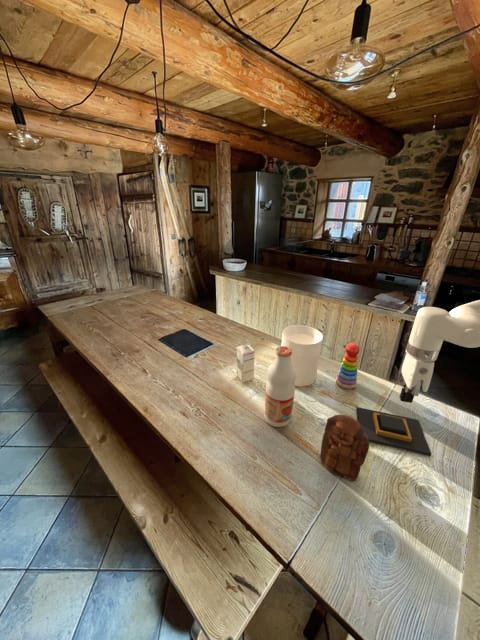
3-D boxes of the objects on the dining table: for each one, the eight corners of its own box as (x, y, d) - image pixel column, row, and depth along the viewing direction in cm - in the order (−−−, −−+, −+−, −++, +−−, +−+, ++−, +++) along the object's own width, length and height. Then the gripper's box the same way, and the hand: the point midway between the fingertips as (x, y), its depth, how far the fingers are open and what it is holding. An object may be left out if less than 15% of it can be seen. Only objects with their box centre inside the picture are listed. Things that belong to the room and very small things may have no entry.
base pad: (417, 421, 92) (419, 416, 91) (430, 456, 80) (433, 450, 79) (356, 408, 98) (357, 403, 97) (359, 439, 86) (361, 433, 84)
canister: (292, 390, 106) (298, 348, 97) (271, 368, 119) (274, 329, 110) (324, 380, 112) (331, 339, 103) (300, 360, 125) (306, 322, 116)
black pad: (400, 424, 90) (402, 418, 89) (404, 437, 85) (406, 431, 84) (377, 419, 92) (379, 413, 91) (380, 431, 87) (382, 426, 86)
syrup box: (254, 379, 112) (255, 350, 106) (242, 383, 110) (242, 353, 104) (248, 371, 117) (249, 343, 110) (236, 375, 114) (236, 346, 108)
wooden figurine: (314, 464, 78) (323, 418, 70) (321, 448, 82) (330, 404, 75) (356, 486, 72) (372, 440, 64) (361, 468, 77) (376, 422, 69)
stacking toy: (357, 381, 112) (367, 343, 103) (353, 392, 106) (363, 352, 97) (338, 375, 115) (346, 337, 107) (333, 385, 109) (341, 346, 101)
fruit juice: (267, 404, 99) (272, 339, 87) (292, 411, 96) (301, 345, 84) (260, 423, 91) (265, 354, 79) (288, 431, 88) (297, 361, 76)
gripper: (447, 367, 68) (426, 420, 75) (428, 339, 81) (412, 387, 88) (414, 362, 70) (397, 414, 77) (401, 336, 83) (387, 383, 90)
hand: (405, 400), depth 83 cm, fingers closed
